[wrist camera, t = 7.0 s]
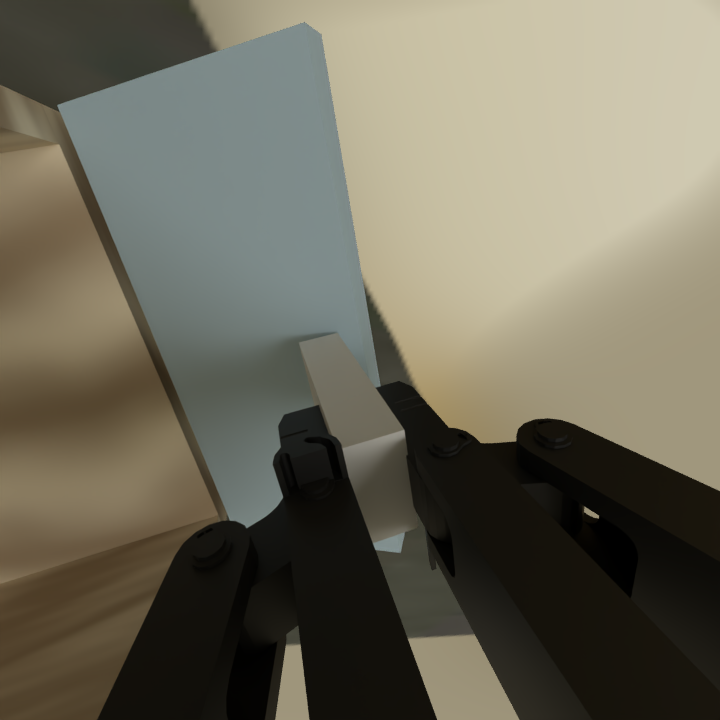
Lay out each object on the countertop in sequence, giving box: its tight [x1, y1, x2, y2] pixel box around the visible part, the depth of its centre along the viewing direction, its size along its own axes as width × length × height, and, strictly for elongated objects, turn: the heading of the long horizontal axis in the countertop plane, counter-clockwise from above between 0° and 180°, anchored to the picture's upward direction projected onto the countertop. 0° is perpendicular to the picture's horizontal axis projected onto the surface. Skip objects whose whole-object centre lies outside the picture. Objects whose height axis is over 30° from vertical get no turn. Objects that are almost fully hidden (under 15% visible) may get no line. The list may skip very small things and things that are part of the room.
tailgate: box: [57, 22, 405, 553], centre depth 16 cm, size 20×2×9 cm
